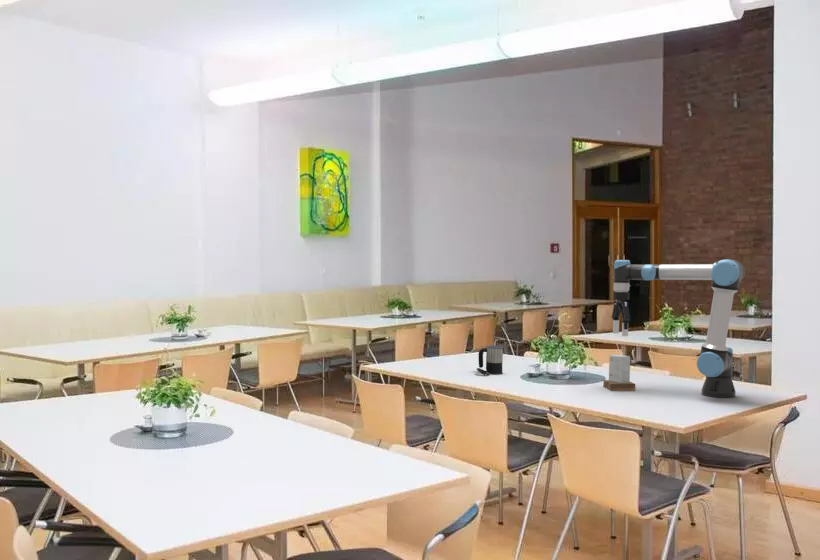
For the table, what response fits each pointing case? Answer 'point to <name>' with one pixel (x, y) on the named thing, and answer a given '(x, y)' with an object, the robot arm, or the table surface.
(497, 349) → the milk frother
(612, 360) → the small box
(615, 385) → the walnut block
